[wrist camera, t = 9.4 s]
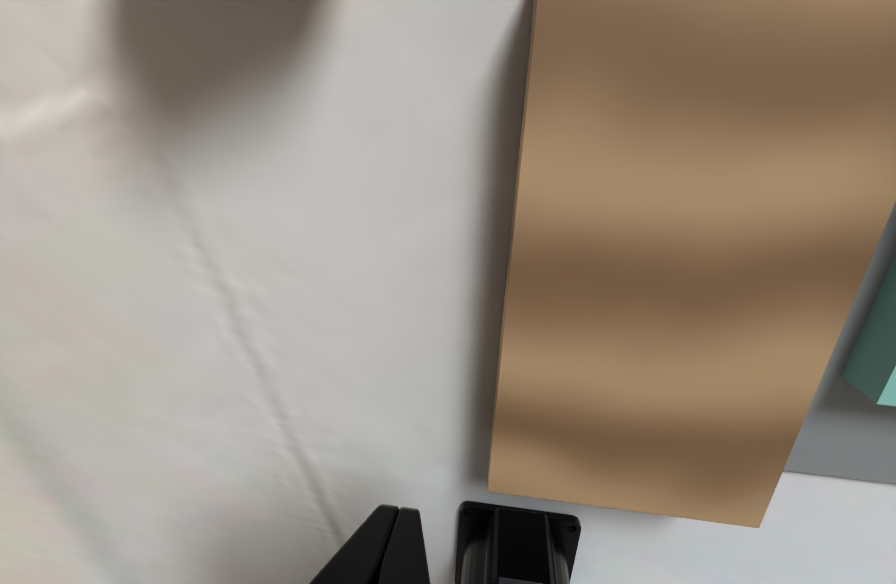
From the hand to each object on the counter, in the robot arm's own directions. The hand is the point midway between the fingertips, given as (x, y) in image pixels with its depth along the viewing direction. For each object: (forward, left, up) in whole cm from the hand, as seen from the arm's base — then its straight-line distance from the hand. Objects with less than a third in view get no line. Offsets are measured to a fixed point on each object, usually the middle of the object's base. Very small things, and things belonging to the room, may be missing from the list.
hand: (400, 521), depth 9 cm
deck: (+3, -8, -12) cm, 14 cm away
